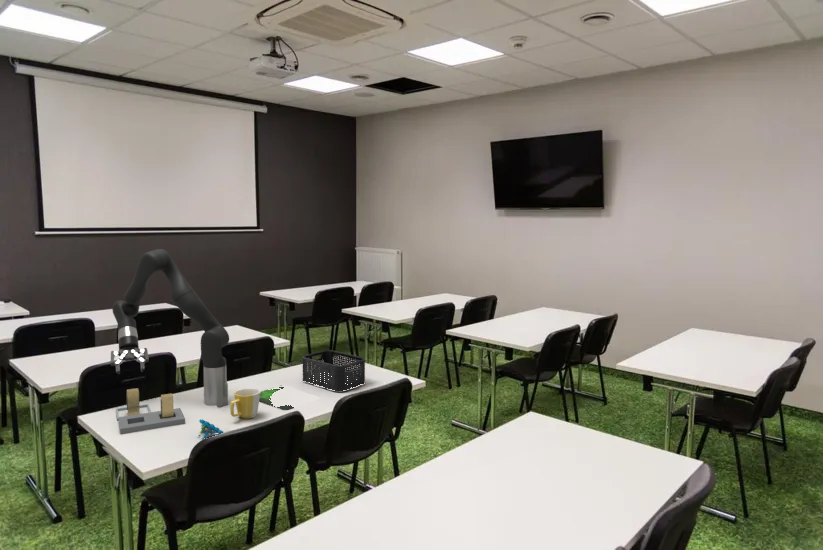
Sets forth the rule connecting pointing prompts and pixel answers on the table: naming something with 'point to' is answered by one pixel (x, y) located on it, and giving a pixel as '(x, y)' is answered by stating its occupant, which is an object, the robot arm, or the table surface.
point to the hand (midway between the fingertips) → (130, 372)
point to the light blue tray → (126, 409)
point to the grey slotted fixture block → (149, 421)
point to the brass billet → (133, 401)
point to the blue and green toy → (208, 428)
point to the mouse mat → (266, 396)
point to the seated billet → (167, 406)
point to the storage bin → (334, 370)
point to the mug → (246, 403)
